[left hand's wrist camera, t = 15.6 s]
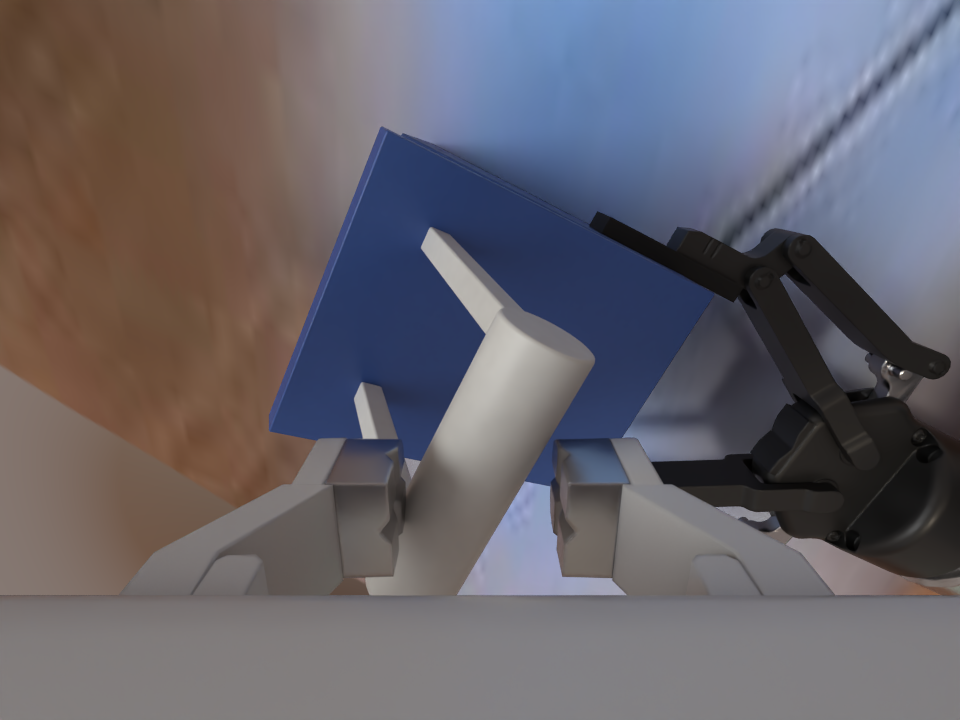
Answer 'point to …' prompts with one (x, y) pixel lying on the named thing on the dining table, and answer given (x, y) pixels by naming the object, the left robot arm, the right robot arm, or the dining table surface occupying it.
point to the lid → (473, 347)
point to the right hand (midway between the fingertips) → (542, 324)
